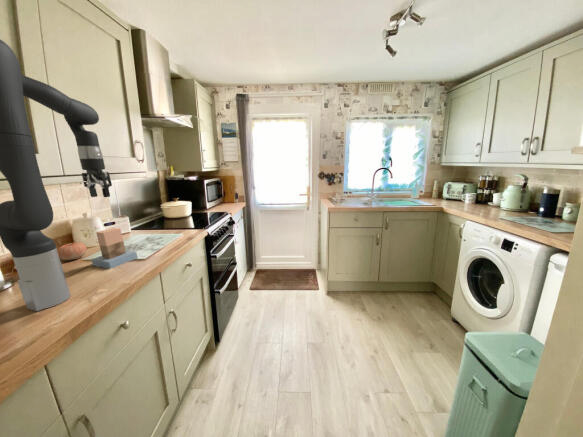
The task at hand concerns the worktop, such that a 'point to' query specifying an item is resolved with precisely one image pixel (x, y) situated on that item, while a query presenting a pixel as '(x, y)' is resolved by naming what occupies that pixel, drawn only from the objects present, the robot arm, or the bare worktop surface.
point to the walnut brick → (113, 250)
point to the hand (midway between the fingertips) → (100, 196)
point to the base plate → (114, 260)
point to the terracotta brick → (109, 236)
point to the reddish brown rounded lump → (71, 251)
